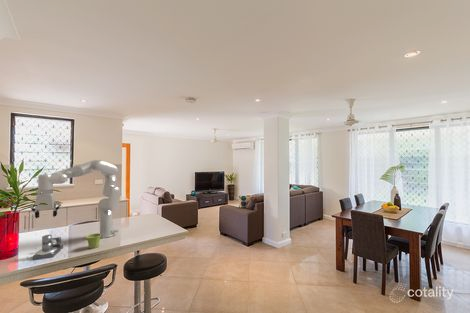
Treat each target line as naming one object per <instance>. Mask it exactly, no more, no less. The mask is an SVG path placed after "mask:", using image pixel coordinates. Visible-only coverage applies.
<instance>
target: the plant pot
mask: <svg viewBox="0 0 470 313" xmlns="http://www.w3.org/2000/svg"><path fill="white" fill-rule="evenodd" d="M100 236H101V234H100V232H97V233H92V234H91V233H90V234H88V235H87V236H86V237H85V239H86V240H87V243H88V249H92V250H93V249H97V248H98V247H100V242H101V241H100V239H101V238H100Z"/></svg>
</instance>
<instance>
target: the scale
mask: <svg viewBox="0 0 470 313" xmlns="http://www.w3.org/2000/svg"><path fill="white" fill-rule="evenodd" d="M61 249H62V250H63V249H64V244H62V237H61V236H57V237H52V250H50V251H47V252H42V248H41V249H39V250H37V251H36V252H35V253H34V255H33V256H32V260H33V261H35V260H41V259H42V260H43V259H49V258H54V257H55V256H56V255H57V254H58V253H59V252H61Z"/></svg>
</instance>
